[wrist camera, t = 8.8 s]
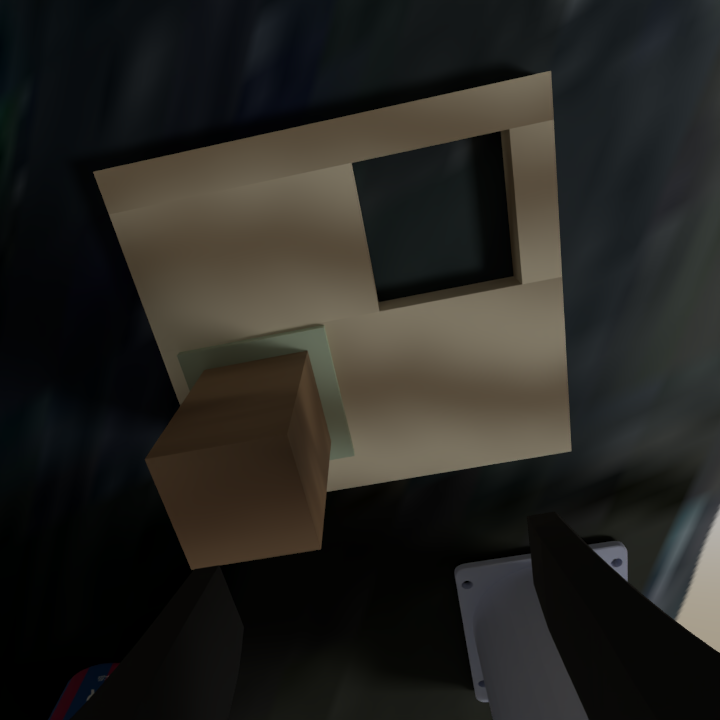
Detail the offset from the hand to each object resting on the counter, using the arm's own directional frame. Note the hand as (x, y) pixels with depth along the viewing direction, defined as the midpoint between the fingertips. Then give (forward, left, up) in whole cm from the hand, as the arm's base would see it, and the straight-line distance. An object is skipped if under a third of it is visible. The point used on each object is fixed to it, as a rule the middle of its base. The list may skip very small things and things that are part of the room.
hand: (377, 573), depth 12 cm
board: (+3, 0, -10) cm, 11 cm away
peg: (0, +4, -9) cm, 10 cm away
